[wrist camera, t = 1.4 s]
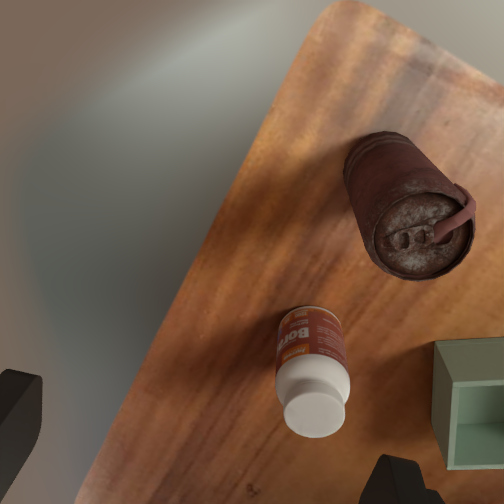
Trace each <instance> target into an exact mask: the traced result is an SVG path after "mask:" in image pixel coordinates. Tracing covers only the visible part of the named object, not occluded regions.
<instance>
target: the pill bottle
mask: <svg viewBox="0 0 504 504" xmlns="http://www.w3.org/2000/svg"><path fill="white" fill-rule="evenodd" d="M275 387H276V393H277V396H278V398H279V400H280V402H281V403H282V405H283V413H284V419H285V422H286V424H287V425H288V427H289V428H290V429H291V430H293V431H294V432H296V433H297V434H299V435H302V436H305V437H311V438H319V437H325V436H328V435H331V434H333V433H334V432H336V431H337V430H338V429H339V428H340V427H341V426H342V424H343V422H344V419H345V410H344V404H345V403H346V401H347V399H348V396H349V392H350V378H349V372H348V365H347V358H346V351H345V344H344V338H343V331H342V327H341V324H340V322H339V320H338V319H337V317H336V316H335V315H334V314H333V313H331V312H330V311H328V310H326V309H324V308H321V307H316V306H304V307H299V308H296V309H294V310H292V311H290V312H289V313H288V314H287V315H286V316H285V317H284V318H283V319H282V321H281V323H280V326H279V330H278V342H277V361H276V378H275Z"/></svg>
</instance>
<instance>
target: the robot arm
mask: <svg viewBox="0 0 504 504" xmlns="http://www.w3.org/2000/svg"><path fill="white" fill-rule="evenodd" d="M42 383H43V382H42V377H41V376H38V375H34V374H29V373H25V372H20V371H16V370H12V369H6V370H4V371H3V372H2V373H1V374H0V502H1V501H2V499H3V498H4V496H5V494H6V493H7V491H8V489H9V488H10V486H11V484H12V483H13V481H14V480H15V478H16V476H17V474H18V473H19V471H20V470H21V468H22V466H23V465H24V463H25V461H26V460H27V458H28V457H29V455H30V453H31V452H32V450H33V447H34V446H35V444H36V441H37V439H38V436H39V432H40V428H41V422H42ZM359 504H445V502H444V501H443V499H442V498H441V496H440V495H439V493H438V492H437V491H435V490H430V489H426V488H425V484H424V481H423V477H422V474H421V470H420V467H419V465H418V463H417V462H416V461H413V460H408V459H404V458H399V457H395V456H390V455H386V454H383V455H381V456H380V458H379V459H378V461H377V463H376V465H375V467H374V469H373V471H372V474H371V476H370V478H369V480H368V482H367V484H366V486H365V488H364V490H363V492H362V494H361V496H360V500H359Z"/></svg>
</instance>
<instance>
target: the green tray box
mask: <svg viewBox="0 0 504 504" xmlns="http://www.w3.org/2000/svg"><path fill="white" fill-rule="evenodd" d="M431 424H432V427H433V430H434V433H435V436H436V439H437V442H438V445H439V448H440V451H441V454H442V457H443V460H444V462H445V465H446V468H447V470H467V469H504V337H496V338H479V339H462V340H445V341H435V342H434V366H433V390H432V414H431Z"/></svg>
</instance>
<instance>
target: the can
mask: <svg viewBox="0 0 504 504" xmlns="http://www.w3.org/2000/svg"><path fill="white" fill-rule="evenodd" d="M343 175H344V182H345V186H346V189H347V192H348V195H349V198H350V201H351V204H352V208H353V211H354V214H355V217H356V220H357V223H358V227H359V230H360V233H361V236H362V239H363V242H364V246H365V249H366V250H367V252H368V254H369V256H370V258H371V260H372V261H373V262H374V263H375V264H376V265H377V266H378V267H379V268H381V269H382V270H383V271H384V272H386V273H389V274H391V275H393V276H396V277H398V278H400V279H403V280H409V281H418V282H419V281H425V280H432V279H436V278H438V277H440V276H442V275H445V274H447V273H449V272H450V271H452V270H453V269H454V268H455V267H457V266H458V265H459V264H460V263H461V262H462V261H463V259H464V258H465V257H466V255H467V254H468V253H469V251H470V249H471V246H472V243H473V239H474V233H475V211H476V202H475V200H474V199H473V198H472V196H471V195H470V194H469V192H468V191H467V190H466V189H464V188H463V187H461V186H459V185H458V184H456V183H455V184H453V183H452V182H451V181H450V180H449V179H448V178H447V177H446V176H445V175H444V174H443V173H442V172H441V171H440V170H439V169H438V168H437V167H436V166H435V165H434V164H433V163H432V162H431V161H430V160H429V159H428V158H427V157H426V156H425V155H424V154H423V153H422V152H421V151H420V150H419V149H418V148H417V147H416V146H415V145H414V144H413V143H412V142H411V141H410V140H409V139H408V138H407V137H405V136H403V135H401V134H398V133H396V132H387V131H382V132H378V133H373V134H370V135H368V136H366V137H364V138H363V139H361V140H359V141H358V142H357V143H356V144H355V145H354V146H353V147H352V148H351V150H350V152H349V153H348V155H347V157H346V159H345V163H344V169H343Z"/></svg>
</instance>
